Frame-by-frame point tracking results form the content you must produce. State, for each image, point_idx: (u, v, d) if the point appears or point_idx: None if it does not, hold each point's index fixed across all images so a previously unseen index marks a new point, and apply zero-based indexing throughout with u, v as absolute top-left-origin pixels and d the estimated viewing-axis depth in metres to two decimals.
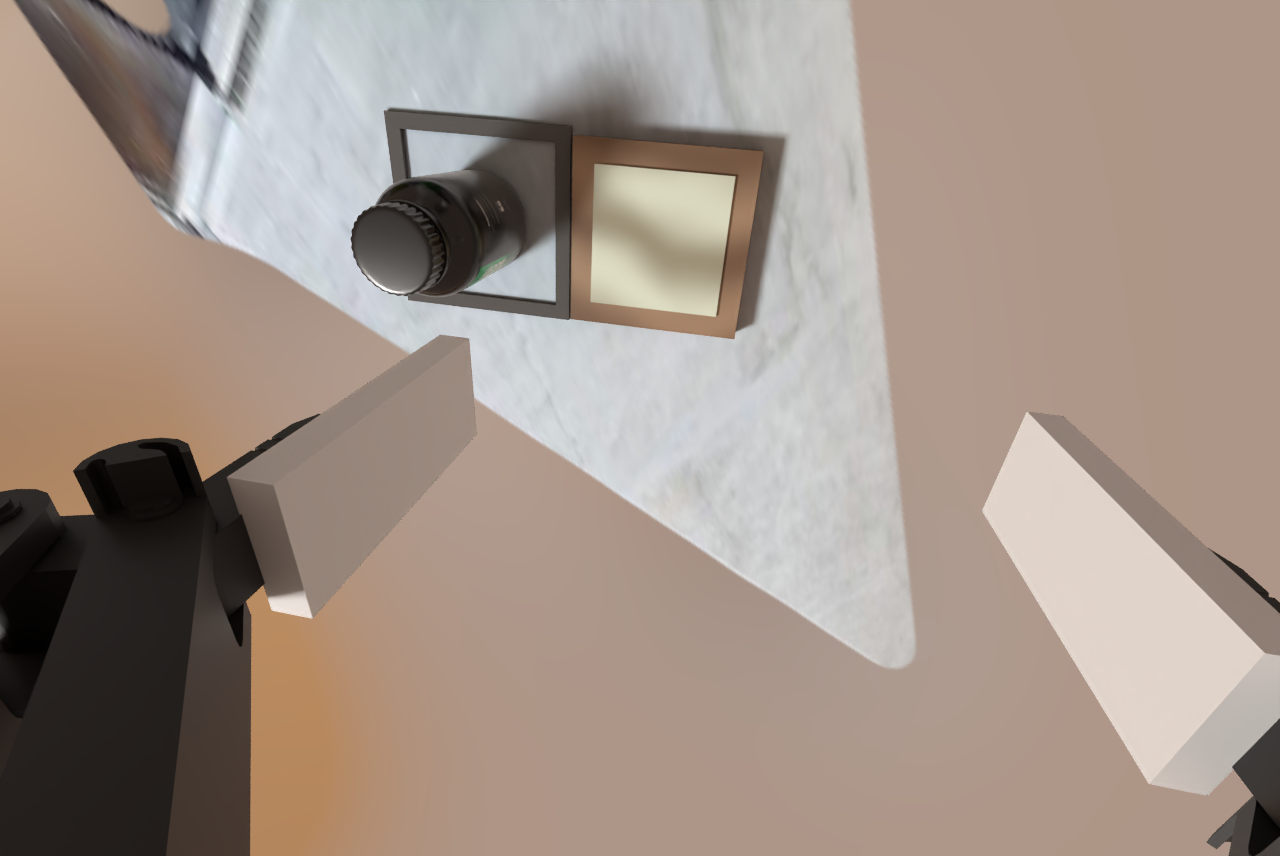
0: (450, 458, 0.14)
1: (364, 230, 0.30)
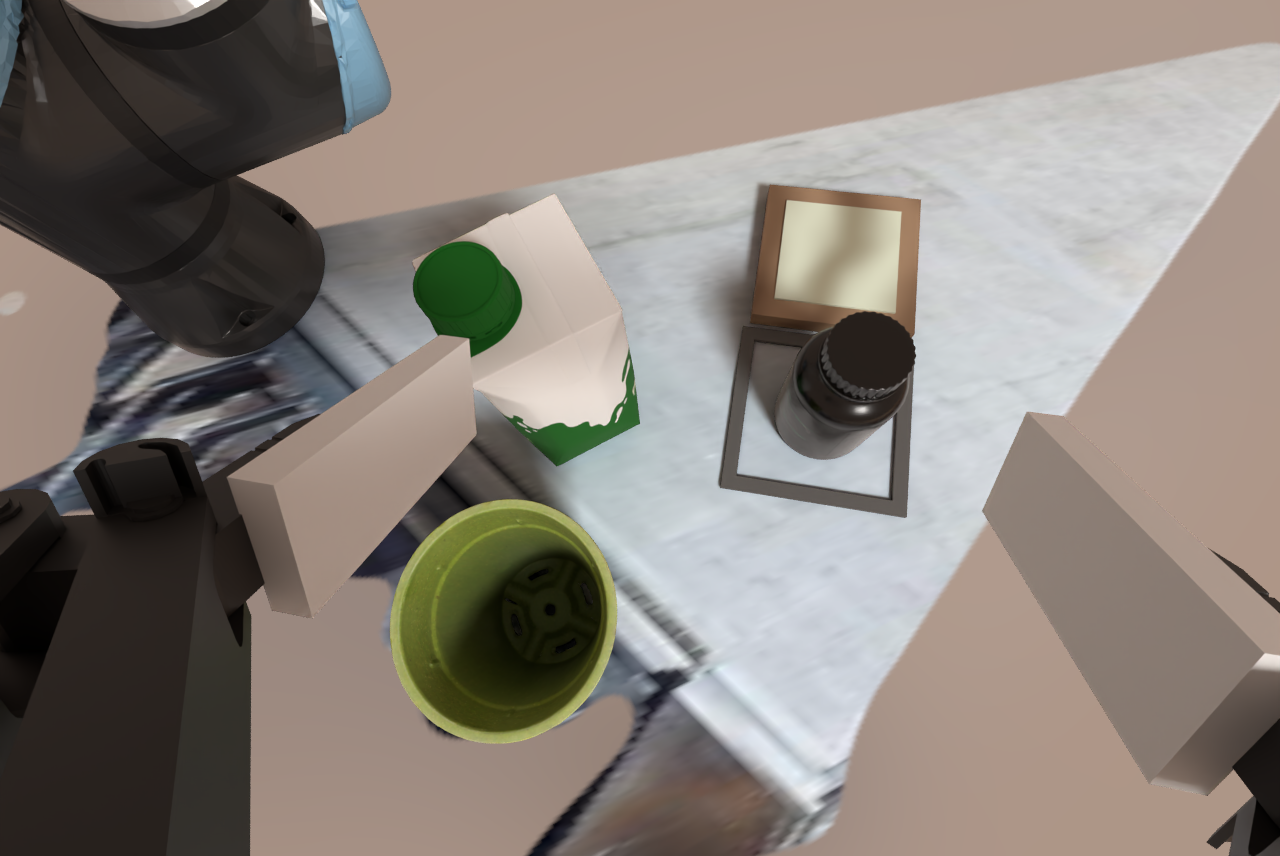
0: (450, 458, 0.14)
1: (850, 370, 0.30)
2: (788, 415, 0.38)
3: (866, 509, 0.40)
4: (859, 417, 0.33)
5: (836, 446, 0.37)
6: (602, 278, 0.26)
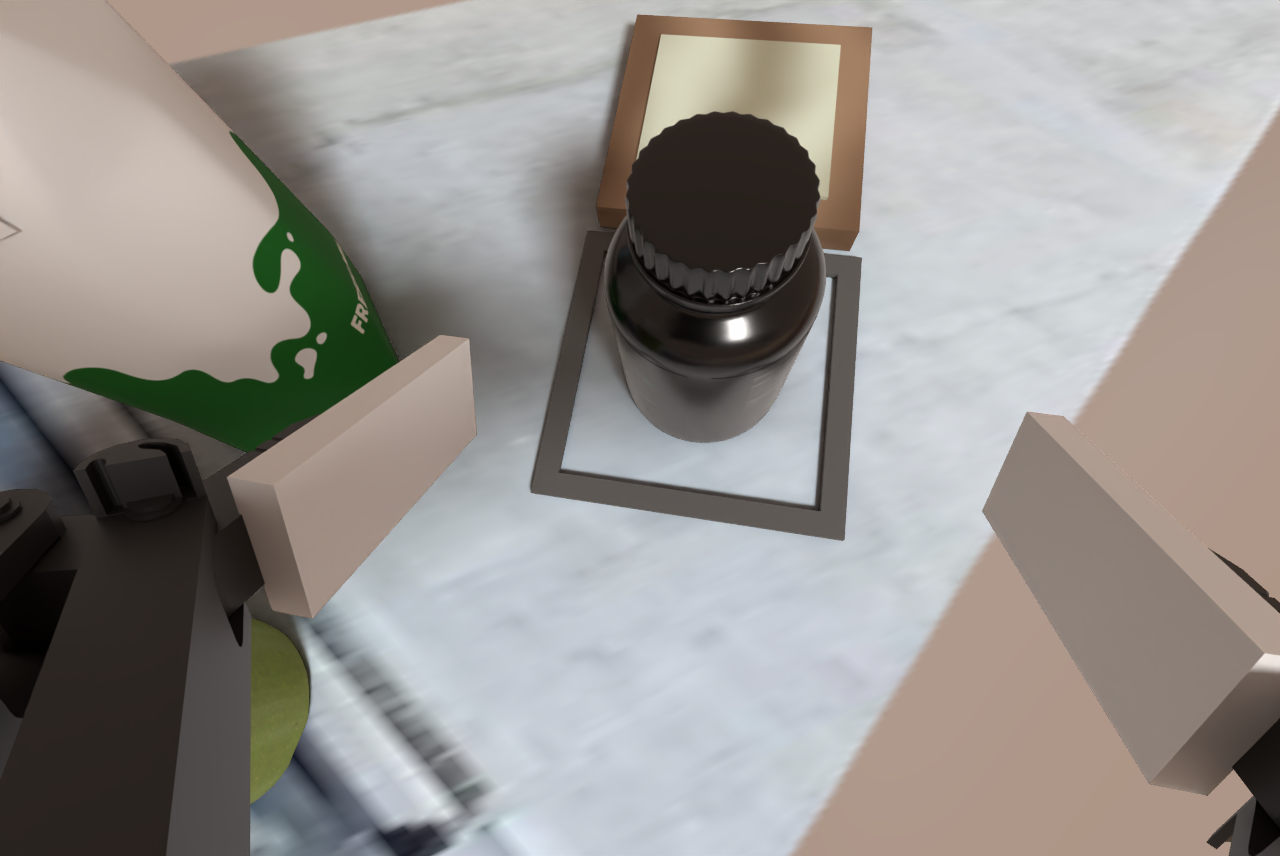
0: (450, 458, 0.14)
1: (673, 231, 0.13)
2: (623, 361, 0.21)
3: (775, 527, 0.23)
4: (718, 347, 0.16)
5: (707, 415, 0.20)
6: None
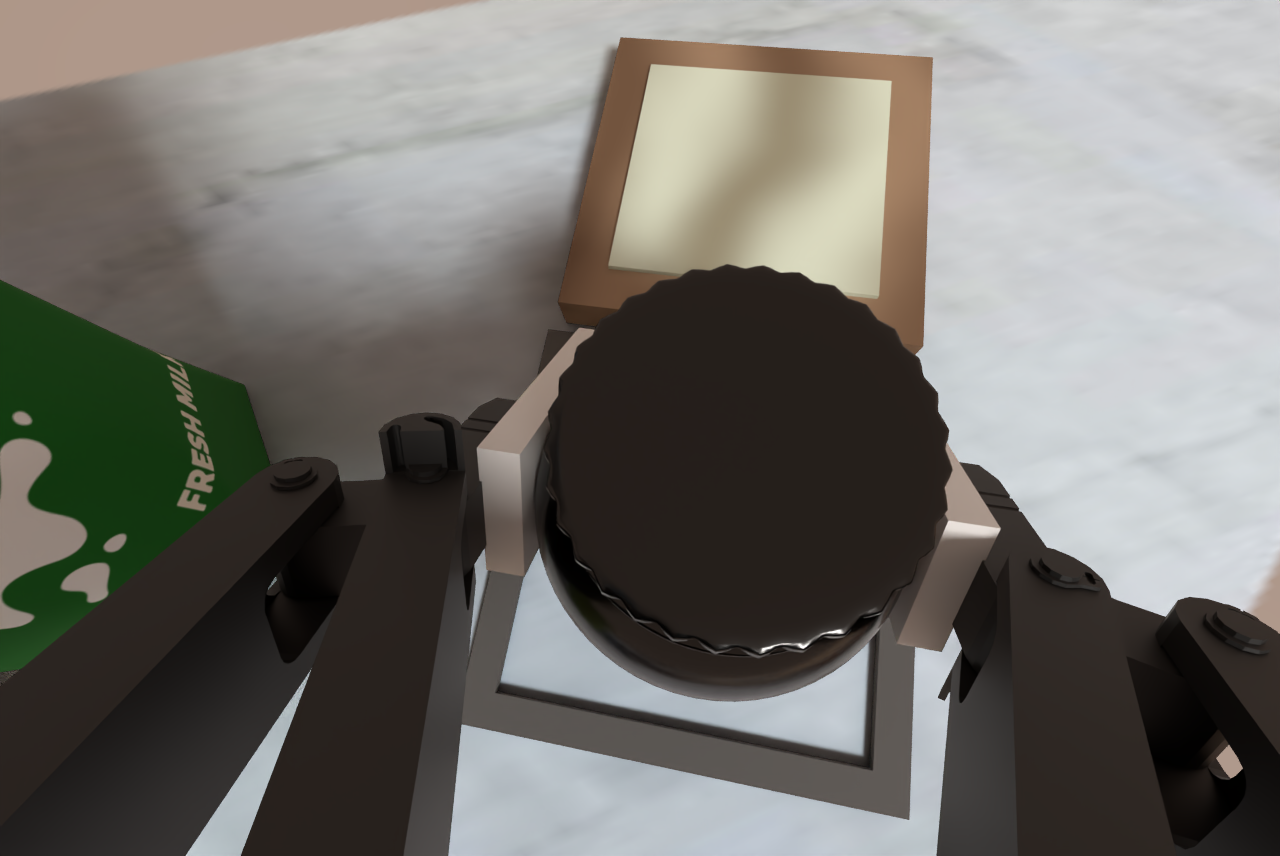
0: None
1: (638, 543, 0.06)
2: None
3: (806, 794, 0.15)
4: (728, 677, 0.09)
5: None
6: None
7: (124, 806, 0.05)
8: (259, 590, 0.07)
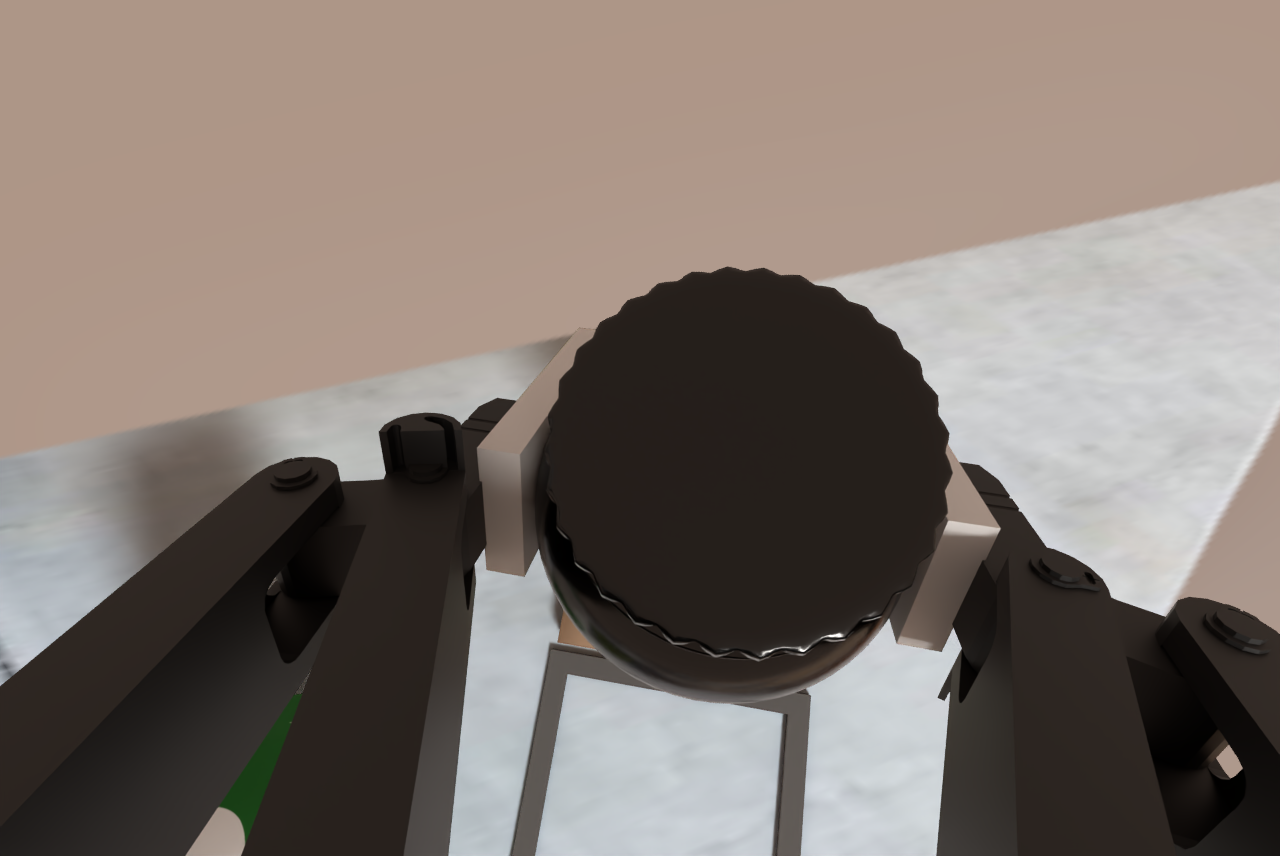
0: None
1: (638, 546, 0.06)
2: None
3: None
4: (729, 679, 0.09)
5: None
6: None
7: (124, 806, 0.05)
8: (259, 590, 0.07)
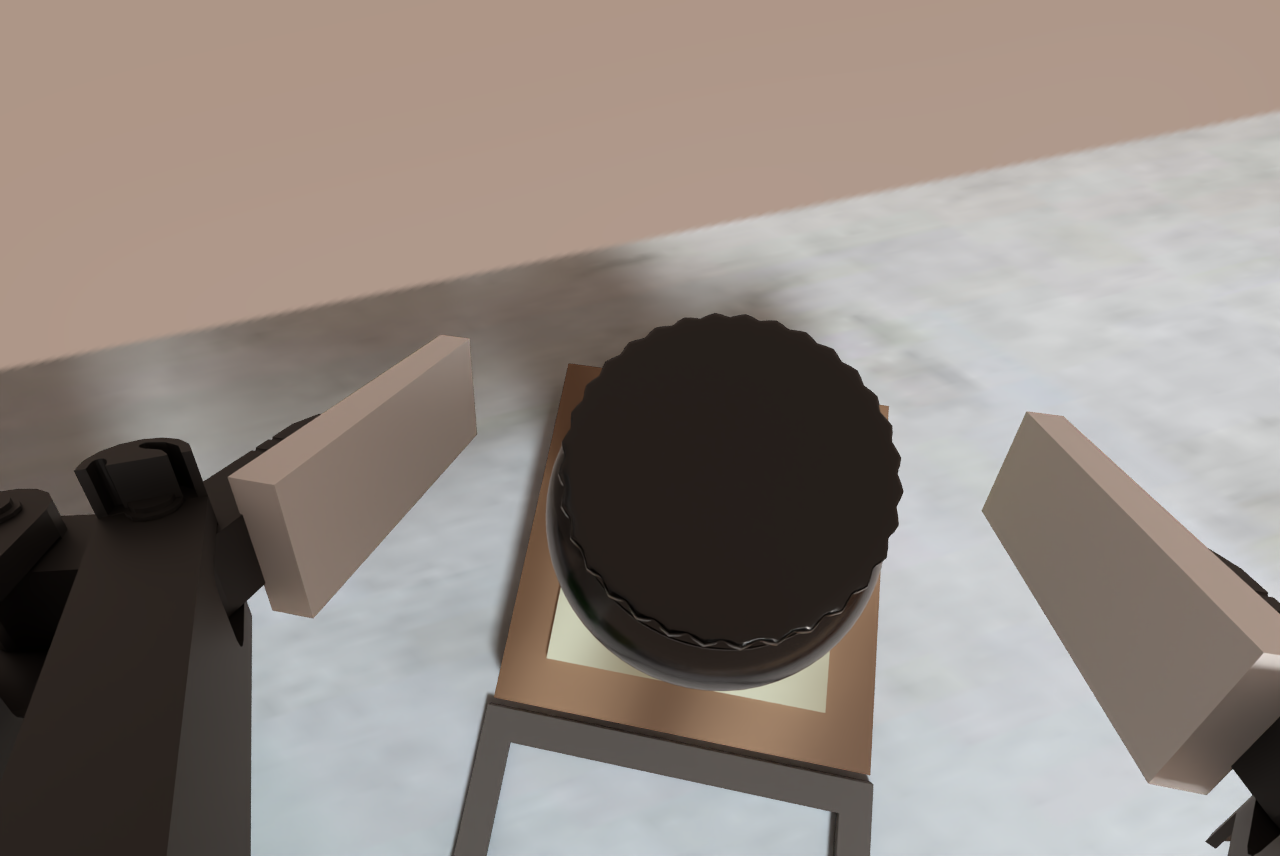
0: (450, 458, 0.14)
1: (639, 554, 0.07)
2: None
3: None
4: (718, 669, 0.10)
5: None
6: None
7: None
8: None
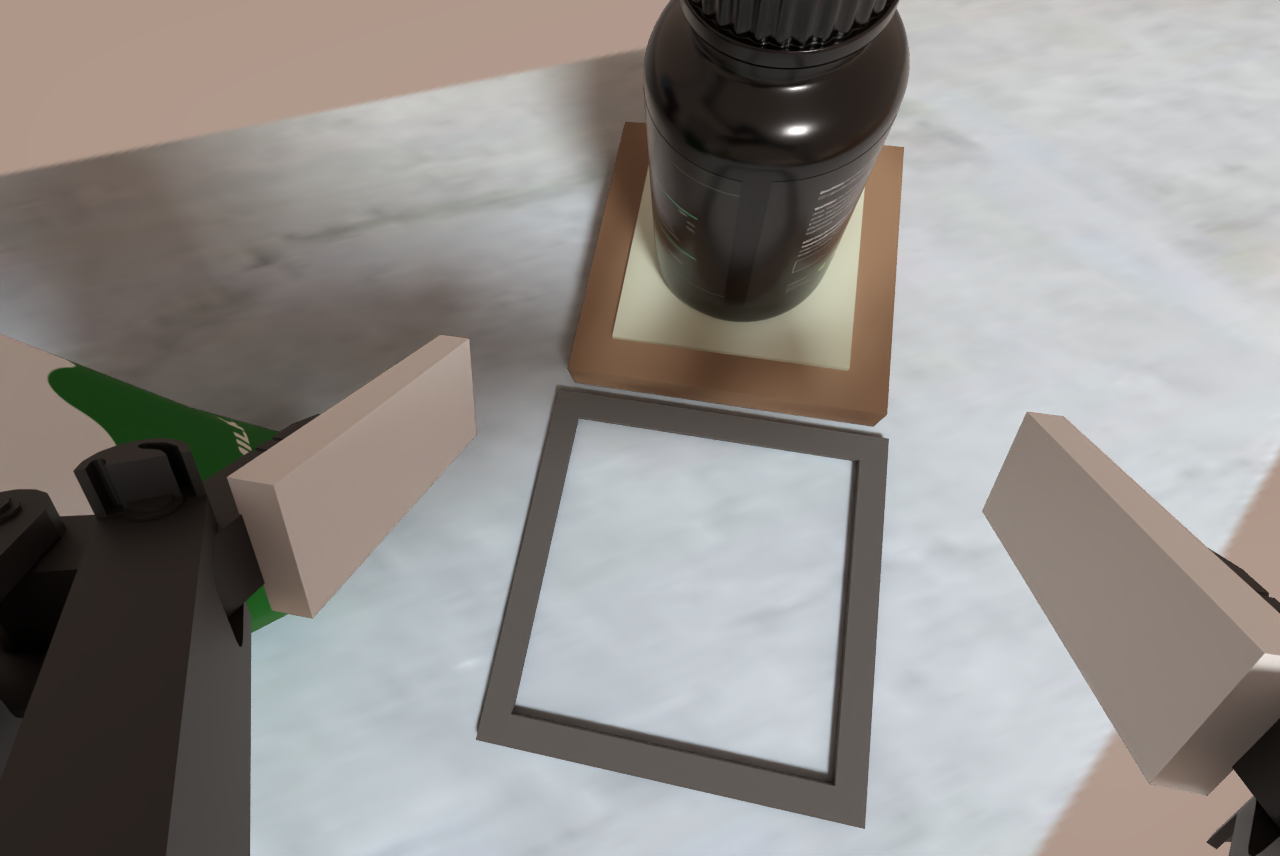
0: (450, 458, 0.14)
1: None
2: (658, 205, 0.18)
3: (777, 806, 0.18)
4: (785, 129, 0.13)
5: (755, 264, 0.17)
6: None
7: None
8: None
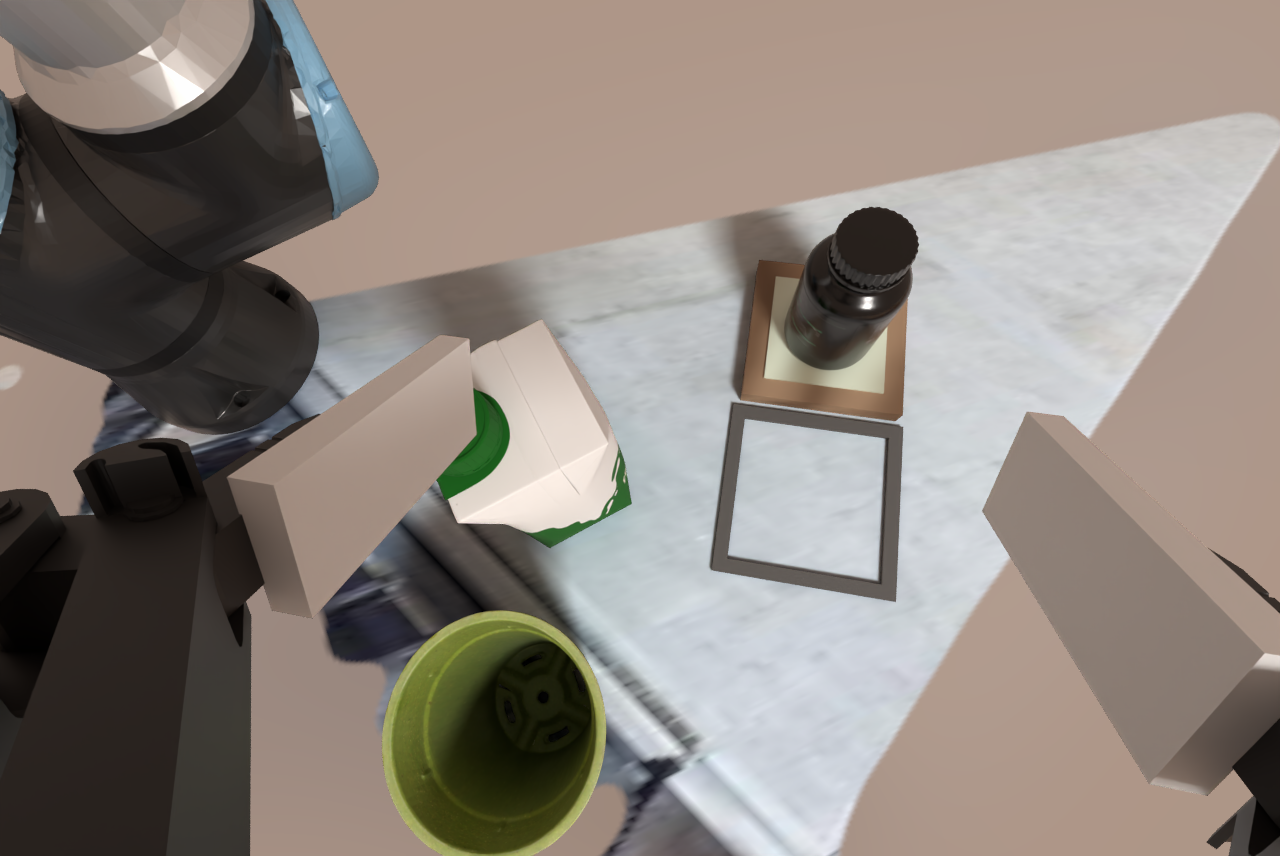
0: (450, 458, 0.14)
1: (858, 259, 0.33)
2: (798, 322, 0.40)
3: (856, 593, 0.40)
4: (866, 309, 0.35)
5: (844, 349, 0.39)
6: (589, 410, 0.27)
7: None
8: None
